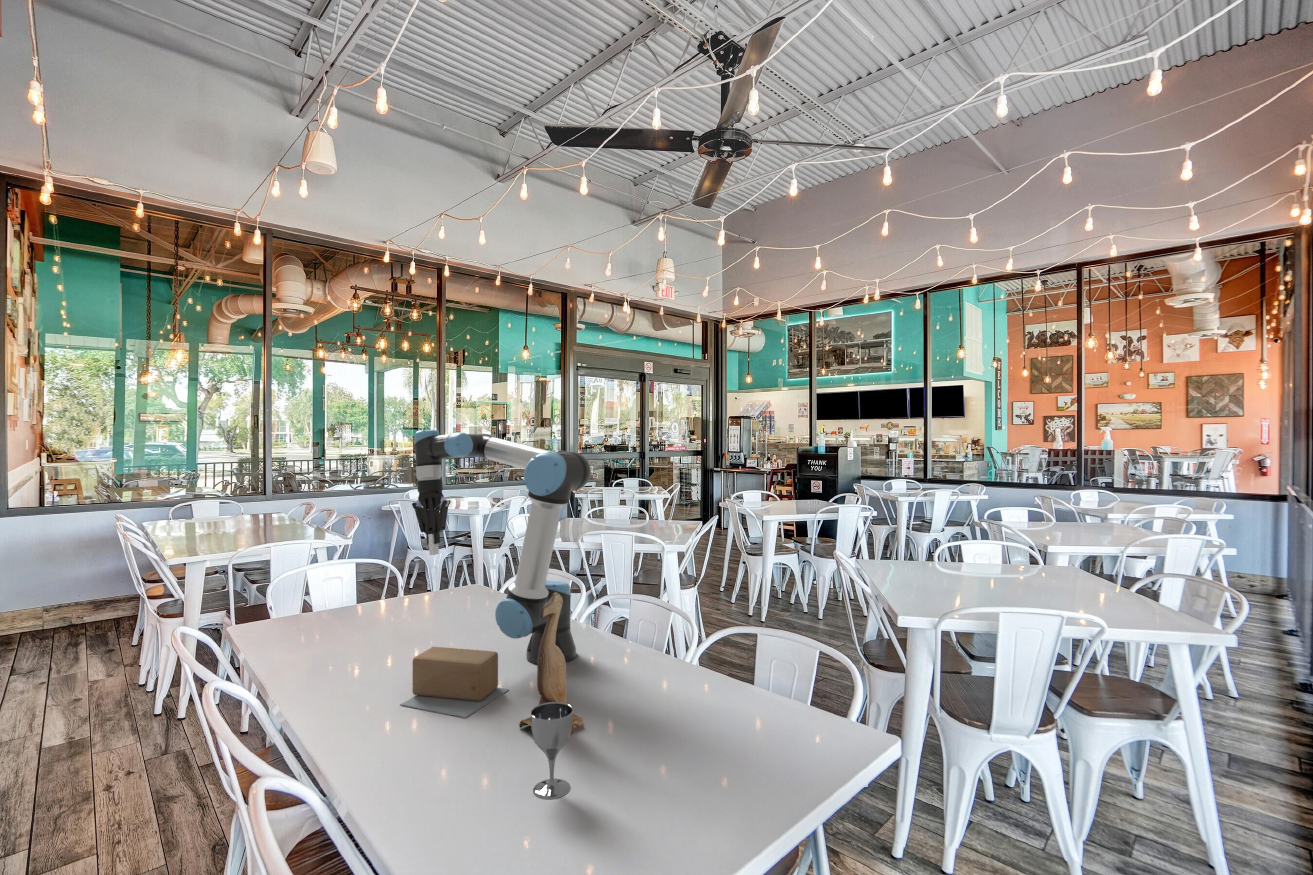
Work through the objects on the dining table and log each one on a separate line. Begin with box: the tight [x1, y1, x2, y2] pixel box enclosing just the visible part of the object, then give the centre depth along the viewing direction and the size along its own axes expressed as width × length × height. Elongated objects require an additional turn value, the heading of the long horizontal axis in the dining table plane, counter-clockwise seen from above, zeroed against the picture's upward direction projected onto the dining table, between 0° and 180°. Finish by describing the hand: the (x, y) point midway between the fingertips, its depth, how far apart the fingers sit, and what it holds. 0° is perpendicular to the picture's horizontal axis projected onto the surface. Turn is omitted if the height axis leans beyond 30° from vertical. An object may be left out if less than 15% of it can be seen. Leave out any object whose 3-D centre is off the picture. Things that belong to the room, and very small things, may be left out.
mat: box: [399, 686, 510, 719], centre depth 163 cm, size 20×18×1 cm
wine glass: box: [530, 702, 574, 800], centre depth 121 cm, size 8×8×15 cm
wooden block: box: [412, 646, 499, 701], centre depth 166 cm, size 10×10×20 cm
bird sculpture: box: [518, 592, 585, 734], centre depth 145 cm, size 11×12×32 cm
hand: (434, 554), depth 197 cm, fingers closed
